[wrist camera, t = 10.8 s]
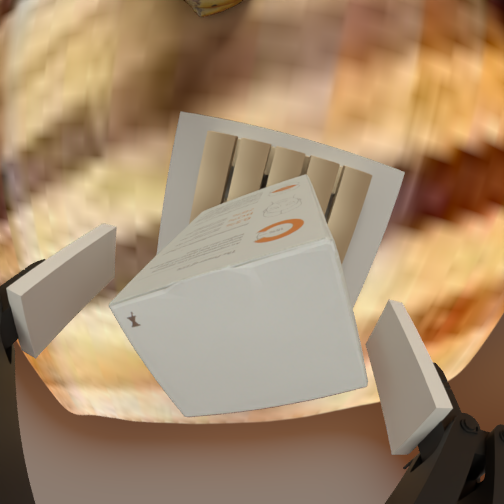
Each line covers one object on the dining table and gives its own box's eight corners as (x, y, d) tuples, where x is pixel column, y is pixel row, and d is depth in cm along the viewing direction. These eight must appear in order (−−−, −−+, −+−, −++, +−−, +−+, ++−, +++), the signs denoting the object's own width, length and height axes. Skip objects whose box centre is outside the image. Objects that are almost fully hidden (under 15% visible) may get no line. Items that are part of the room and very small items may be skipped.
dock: (167, 256, 30) (152, 272, 27) (192, 113, 25) (177, 111, 21) (342, 304, 29) (347, 325, 26) (393, 167, 24) (407, 173, 21)
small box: (233, 286, 24) (181, 420, 12) (200, 210, 22) (101, 303, 10) (336, 255, 22) (371, 390, 10) (308, 171, 20) (331, 231, 8)
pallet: (187, 268, 27) (177, 281, 24) (213, 130, 22) (204, 130, 20) (319, 305, 26) (321, 321, 24) (367, 171, 22) (375, 176, 19)
